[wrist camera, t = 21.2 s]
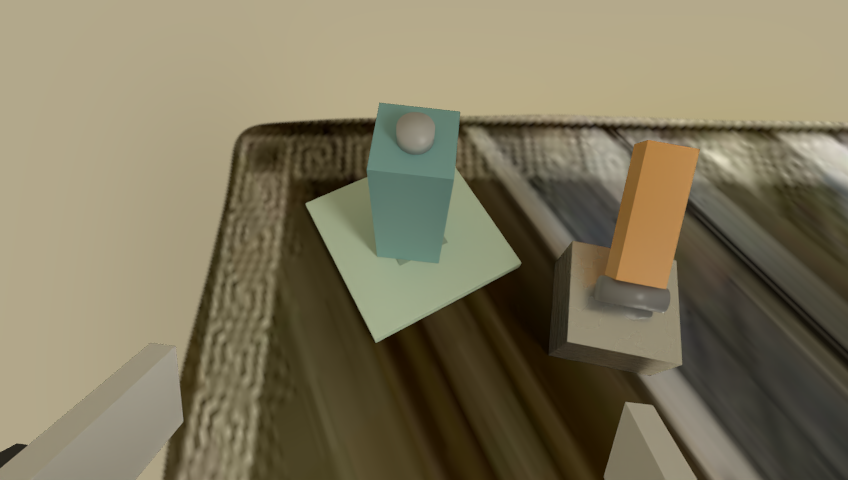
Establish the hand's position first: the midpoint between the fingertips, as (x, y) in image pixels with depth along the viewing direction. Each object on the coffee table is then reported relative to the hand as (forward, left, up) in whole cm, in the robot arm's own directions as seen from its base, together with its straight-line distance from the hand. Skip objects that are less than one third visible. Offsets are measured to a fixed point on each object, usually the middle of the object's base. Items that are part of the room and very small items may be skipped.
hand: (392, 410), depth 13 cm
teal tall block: (-7, -12, -16) cm, 22 cm away
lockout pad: (-7, -12, -17) cm, 22 cm away
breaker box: (-16, 0, -17) cm, 24 cm away
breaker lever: (-16, 0, -12) cm, 20 cm away
